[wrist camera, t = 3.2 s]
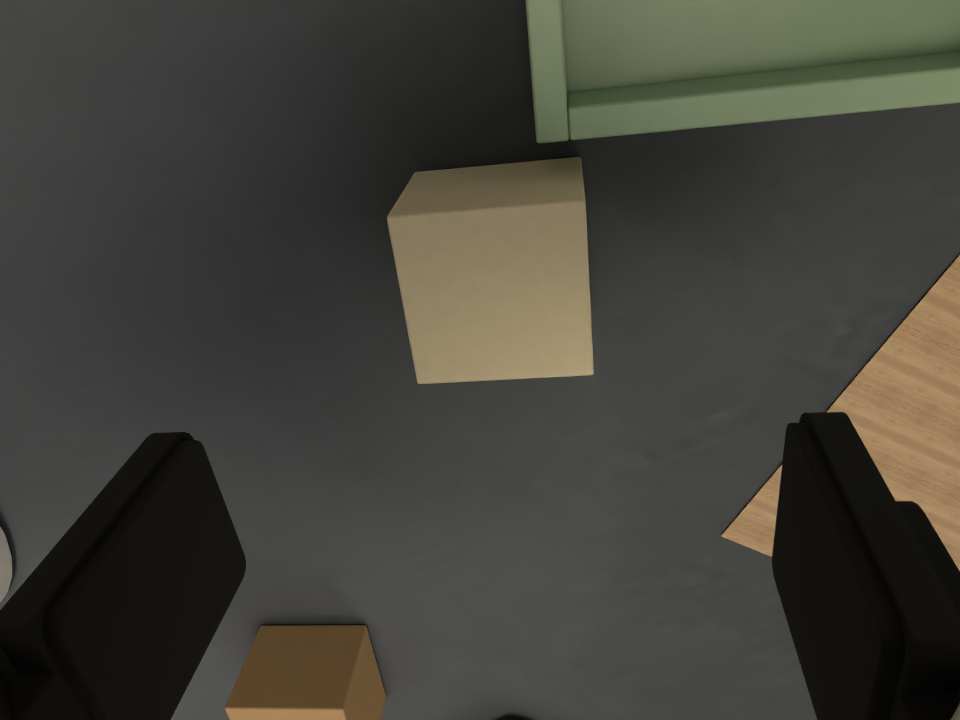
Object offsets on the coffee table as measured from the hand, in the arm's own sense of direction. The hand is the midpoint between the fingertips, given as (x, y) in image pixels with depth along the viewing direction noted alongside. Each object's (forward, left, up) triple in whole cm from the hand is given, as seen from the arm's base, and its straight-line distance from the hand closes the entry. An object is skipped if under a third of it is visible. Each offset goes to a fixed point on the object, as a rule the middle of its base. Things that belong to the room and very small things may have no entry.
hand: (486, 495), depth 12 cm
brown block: (-10, -19, -12) cm, 25 cm away
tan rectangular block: (0, 0, -12) cm, 12 cm away
